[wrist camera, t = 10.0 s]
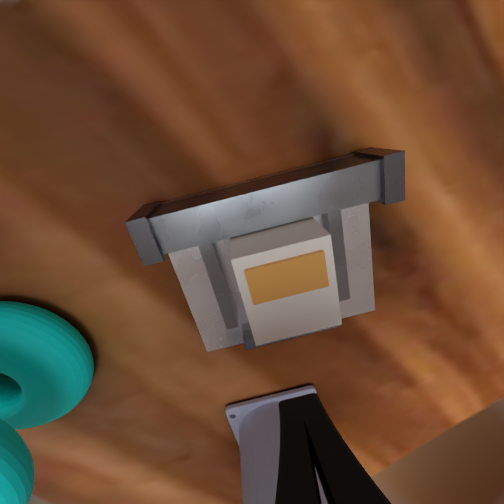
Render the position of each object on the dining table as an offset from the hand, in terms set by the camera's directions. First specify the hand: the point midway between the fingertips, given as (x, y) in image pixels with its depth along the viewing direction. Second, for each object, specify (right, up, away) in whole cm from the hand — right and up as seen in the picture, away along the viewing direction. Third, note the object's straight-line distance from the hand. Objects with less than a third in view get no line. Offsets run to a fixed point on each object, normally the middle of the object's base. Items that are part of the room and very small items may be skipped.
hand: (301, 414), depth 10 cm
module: (0, +6, +8) cm, 10 cm away
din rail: (0, +5, +9) cm, 10 cm away
